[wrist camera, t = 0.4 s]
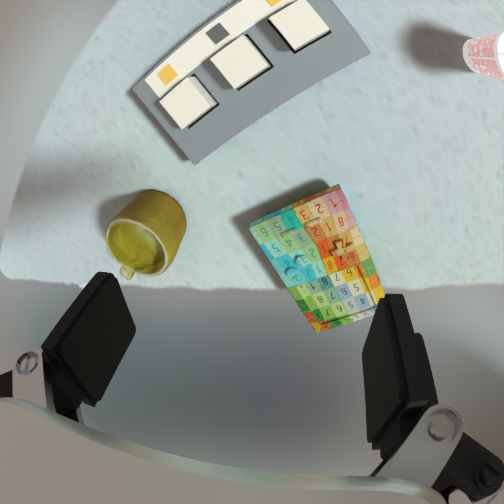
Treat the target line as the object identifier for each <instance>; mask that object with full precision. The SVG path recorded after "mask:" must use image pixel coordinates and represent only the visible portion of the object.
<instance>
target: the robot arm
mask: <svg viewBox="0 0 504 504" xmlns="http://www.w3.org/2000/svg"><path fill="white" fill-rule="evenodd" d="M135 332H136V327H135V324H134V322H133V319H132V317H131V314H130V312H129V310H128V307H127V304H126V302H125V299H124V296H123V293H122V291H121V288H120V285H119V282H118V280H117V278H116V277H114V275H113V274H112V273H107V272H97V273H96V274H95V275H94V277H93V278H92V279H91V280H90V282H89V283H88V284H87V285H86V286H85V288H84V289H83V290H82V292H81V293H80V294H79V295H78V297H77V298H76V299H75V301H74V302H73V303H72V304H71V306H70V307H69V308H68V310H67V311H66V312H65V314H64V315H63V316H62V318H61V319H60V320H59V322H58V323H57V325H56V326H55V327H54V329H53V330H52V331H51V333H50V334H49V336H48V337H47V339H46V340H45V341H44V343H43V344H42V346H41V348H42V349H43V352H42V354H41V353H40V351H39V350H37V349H33V348H31V349H27V350H25V351H23V352H21V353H20V354H19V355H18V356H17V357H16V359H15V361H14V363H13V370H11V371H9V372H6V373H4V374H2V375H0V504H504V465H503V463H502V461H501V460H500V459H499V458H498V457H497V456H495V455H494V454H493V453H491V452H490V451H489V450H487V449H486V448H484V447H483V446H482V445H480V444H479V443H478V442H476V441H475V440H474V439H472V438H471V437H470V436H468V435H467V434H466V433H464V432H463V431H464V422H463V419H462V416H461V415H460V413H459V411H457V410H456V409H455V408H454V407H452V406H450V405H447V404H438V399H437V395H436V389H435V385H434V380H433V376H432V371H431V367H430V363H429V359H428V355H427V352H426V348H425V345H424V340H423V338H422V335H421V334H420V333H414V330H413V326H412V323H411V319H410V316H409V312H408V309H407V306H406V302H405V299H404V296H403V295H402V294H385V296H384V298H380V299H379V301H378V304H377V308H376V311H375V314H374V317H373V321H372V324H371V327H370V330H369V333H368V336H367V339H366V342H365V345H364V348H363V352H362V362H363V375H364V386H365V387H364V388H365V403H366V424H367V441H368V442H369V443H371V442H372V450H379V449H380V454H381V458H382V459H383V460H382V461H381V462H380V463H379V464H378V466H377V467H376V468H375V469H374V470H373V471H372V473H371V474H370V475H369V476H317V475H298V474H283V473H273V472H264V471H255V470H247V469H241V468H234V467H228V466H222V465H217V464H211V463H207V462H201V461H197V460H192V459H188V458H183V457H180V456H176V455H172V454H168V453H164V452H160V451H157V450H153V449H150V448H147V447H143V446H140V445H137V444H134V443H131V442H128V441H125V440H122V439H119V438H116V437H114V436H111V435H108V434H105V433H103V432H100V431H98V430H95V429H93V428H90V427H88V426H85V424H84V420H83V416H82V412H81V408H80V404H81V402H82V401H83V402H84V403H85V404H88V405H90V406H93V407H95V405H96V403H97V401H100V400H101V399H102V397H103V395H104V393H105V391H106V389H107V387H108V385H109V383H110V381H111V379H112V377H113V375H114V373H115V371H116V369H117V367H118V365H119V363H120V361H121V360H122V358H123V356H124V354H125V352H126V350H127V348H128V346H129V345H130V343H131V341H132V339H133V337H134V335H135Z"/></svg>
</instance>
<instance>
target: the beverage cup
mask: <svg viewBox="0 0 504 504" xmlns="http://www.w3.org/2000/svg"><path fill="white" fill-rule="evenodd" d="M462 50H463V57H464V60H465V62H466V64H467V65H468V67H469V68H470V69H471V70H472V71H474V72H475V73H478V74H482V75H486V76H490V77H493V78H497V79H500V80H503V81H504V31H502V32H500V33H499V34H495V35H489V36H484V37H478V38H473V39H469V40H467V41H466V42H465V43H464V46H463V49H462Z"/></svg>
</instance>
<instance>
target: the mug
mask: <svg viewBox="0 0 504 504" xmlns="http://www.w3.org/2000/svg"><path fill="white" fill-rule="evenodd" d="M185 231H186V217H185V213H184V211H183V209H182V207H181V206H180V204H179V203H178V201H176V200H175V199H174V198H172V197H171V196H170V195H168V194H166V193H162V192H159V191H155V190H152V191H146V192H143V193H141V194H140V195H138V196H137V197H136V198H135V199H134V200H133V201H132V202H131V203H130V204H129V205H128V206H127V207H126V208H125V209H124V210H122V211H121V212H120V213H119V214H118V215H117V216H116V217H115V218H114V219H113V220H112V221H111V222H110V224H109V226H108V228H107V231H106V245H107V248H108V250H109V252H110V254H111V255H112V257H113V258H114V259H115V260H116V261H117V262H118V263H119V264H121V265H122V267H121V269H120V274H121V276H122V277H124V278H126V279H127V280H131V278H132V277H133V275H134V274H135V273H136V274H138V275H143V276H148V277H153V276H157V275H160V274H161V273H163V272H164V271H165V270H166V269H167V268H168V267H169V266H170V264H171V263H172V261H173V260H174V257H175V255H176V253H177V251H178V248H179V246H180V243H181V241H182V239H183V236H184V234H185Z"/></svg>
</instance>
